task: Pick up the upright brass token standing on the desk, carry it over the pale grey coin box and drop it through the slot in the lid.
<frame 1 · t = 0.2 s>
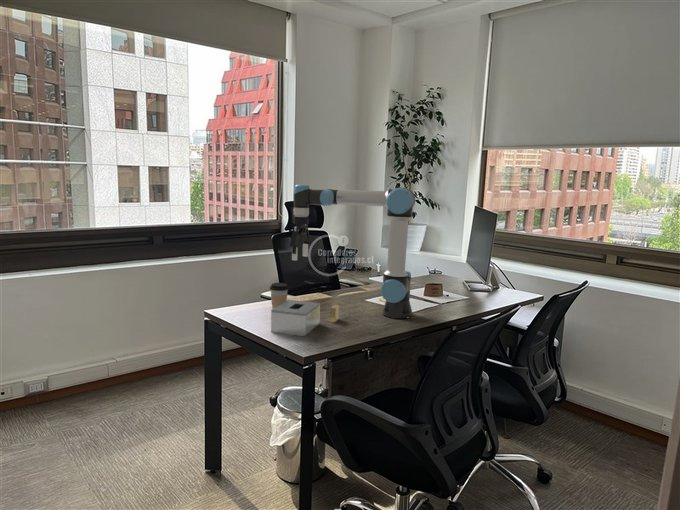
hand: (300, 258, 248), 27 cm above the table, fingers open, 13 cm apart
coin box: (296, 327, 225), on the table
token: (334, 320, 239), on the table
coffee cup: (278, 314, 247), on the table
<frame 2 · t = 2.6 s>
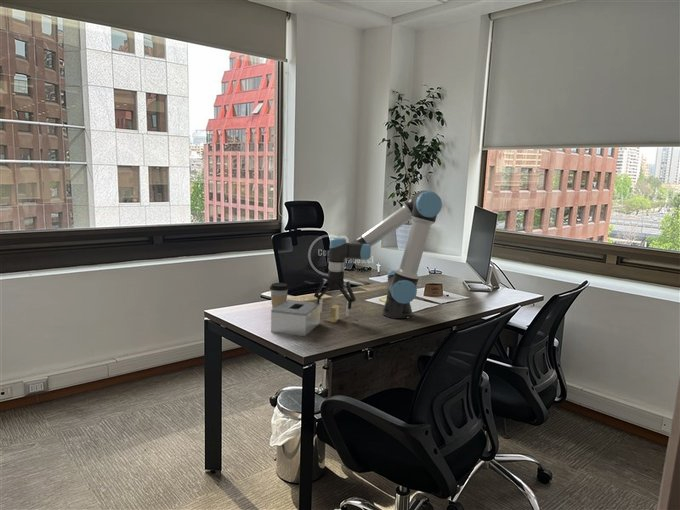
hand: (333, 313, 238), 3 cm above the table, fingers open, 13 cm apart
nothing on the table moved.
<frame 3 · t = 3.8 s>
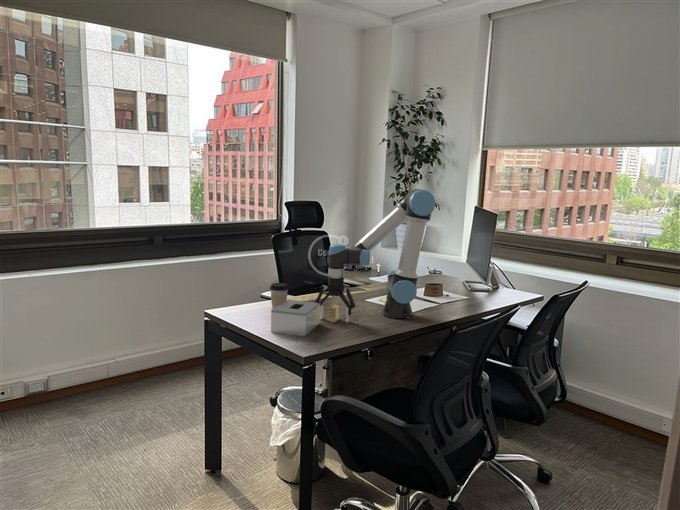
hand: (334, 320, 239), 0 cm above the table, fingers open, 12 cm apart
nothing on the table moved.
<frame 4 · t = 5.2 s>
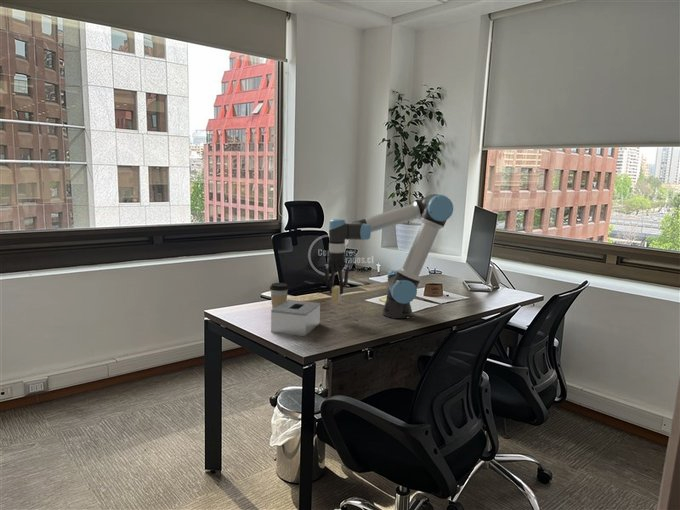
hand: (336, 300, 237), 10 cm above the table, fingers closed on token, 2 cm apart
token: (336, 301, 237), point 10 cm above the table, touching gripper
everything else where it was.
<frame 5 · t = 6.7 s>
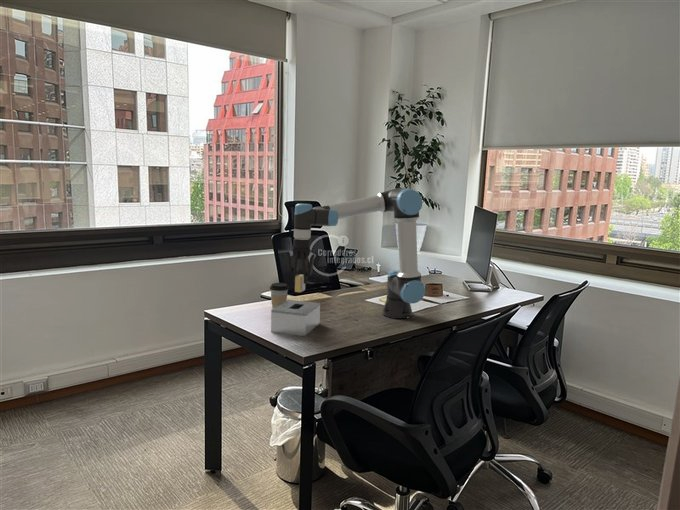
hand: (299, 289, 224), 17 cm above the table, fingers closed on token, 2 cm apart
token: (299, 290, 224), point 17 cm above the table, touching gripper
everything else where it was.
when the fingers open (11 cm above the table, at t = 8.5 s): token drops 10 cm, resting on coin box.
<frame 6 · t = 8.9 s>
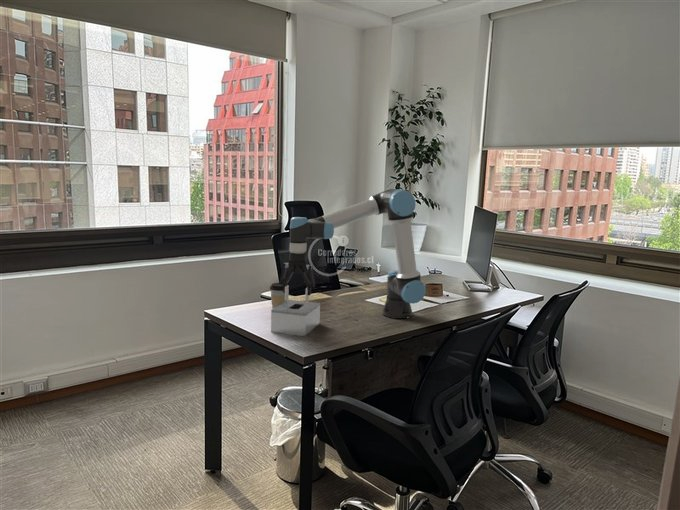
hand: (296, 301, 223), 13 cm above the table, fingers open, 9 cm apart
token: (296, 326, 225), point 1 cm above the table, touching coin box
everything else where it was.
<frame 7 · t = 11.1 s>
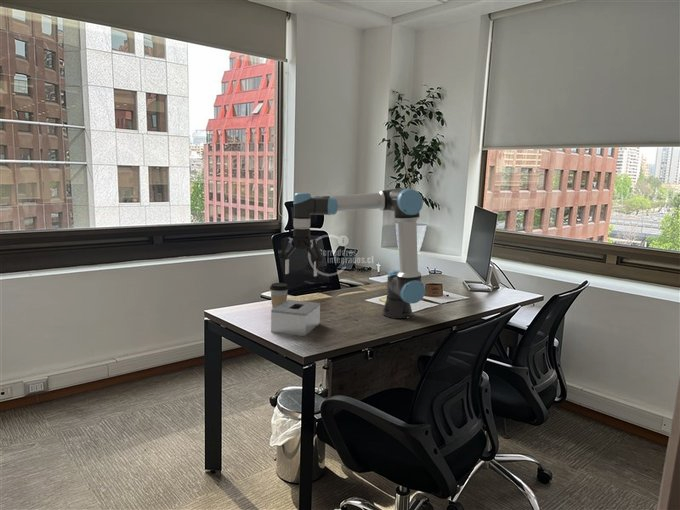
hand: (301, 274, 223), 24 cm above the table, fingers open, 13 cm apart
nothing on the table moved.
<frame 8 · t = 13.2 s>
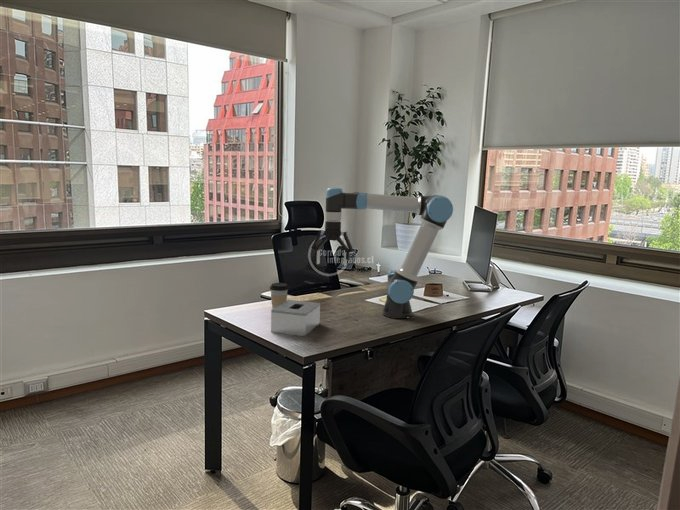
hand: (331, 265, 238), 27 cm above the table, fingers open, 13 cm apart
nothing on the table moved.
at the end: token inside the target area on the coin box (0.1 cm from its centre), point 0.8 cm above the coin box's base; the gripper is holding nothing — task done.
